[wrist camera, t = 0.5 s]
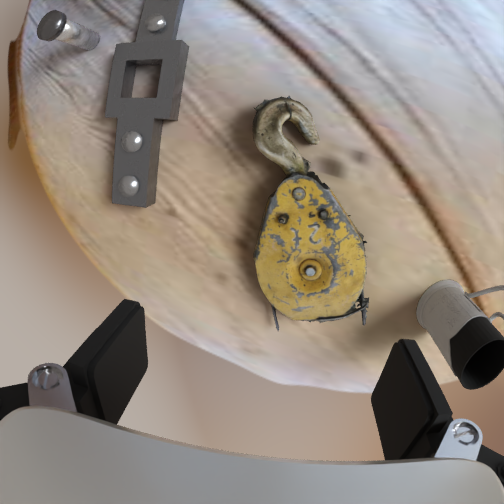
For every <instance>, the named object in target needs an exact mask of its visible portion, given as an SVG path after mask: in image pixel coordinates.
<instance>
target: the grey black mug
mask: <svg viewBox="0 0 504 504" xmlns="http://www.w3.org/2000/svg"><path fill="white" fill-rule="evenodd" d="M499 290H504V286H503V285H500V286H495V287H492V288H488V289H484V290H481V291H478V292H475V293H470V294H468V293H467V292H465V293H464V290H463V288H462V287H461V285H460V284H459V283H457V282H456V281H453V280H442V281H439V282H437V283H435V284H433V285H432V286H430V287H429V288H428V289H427V290H426V291H425V292H424V294H423V295H422V296H421V298H420V300H419V303H418V305H417V311H416V315H417V320H418V322H419V324H420V325H421V326H422V327H423V328H425V329H426V330H427V331H428V332H429V334H430V335H431V337H432V338H433V340H434V342H435V343H436V345H437V346H438V348H439V350H440V351H441V353H442V355H443V356H444V358H445V360H446V361H447V363H448V365H449V366H450V368H451V370H452V371H453V373H454V375H455V376H457V377H458V379H459V380H460V382H461V384H462V386H463V387H464V388H466V389H470V390H471V389H478V388H481V387H483V386H485V385H487V384H488V383H490V382H491V381H492V380H494V379H495V378H496V377H497V376H498V375H499V373H501V371H502V370H503V368H504V337H503V336H502V335H501V333H500V332H499V331H498V330H497V329H496V328H495V327H494V326H493V325H492V323H491V322H492V321H493V320H494V319H495V318H496V317H499V316H500V317H502V318H503V319H504V315H503V314H502V313H500V312H496V313H494V314H493V315H492V316H491V317H490V318H488V317H487V316H486V315H485V314H484V313H483V312H482V311H481V310H480V309H479V308H478V307H477V305H476V304H475V303H474V302H473V301H472V300H471V299H470V298H472V297H477V296H480V295H484V294H487V293H490V292H494V291H499Z"/></svg>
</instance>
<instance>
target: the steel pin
mask: <svg viewBox="0 0 504 504" xmlns="http://www.w3.org/2000/svg"><path fill="white" fill-rule="evenodd" d="M37 36H38V38H39V39H42V40H45V41H52V40H54V39H55V40H59V41H62V42H65V43H68V44H71V45H74V46H77V47H79V48H82V49H85V50H92V49H93V48H95V47H96V46H97V44H98V43H99V40H100V36H99V34H98V33H97V32H95V31H93V30H91V29H88V28H86V27H84V26H82V25H80V24H77V23H75V22H73V21H70V20H68V19H67V18H66V15H65V14H64V13H62V12H59V11H57V10H53V11H50V12H49V13H47V14H46V15H45V16H44V17H43V18H42V20H41V21H40V23H39V25H38V28H37Z"/></svg>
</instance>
